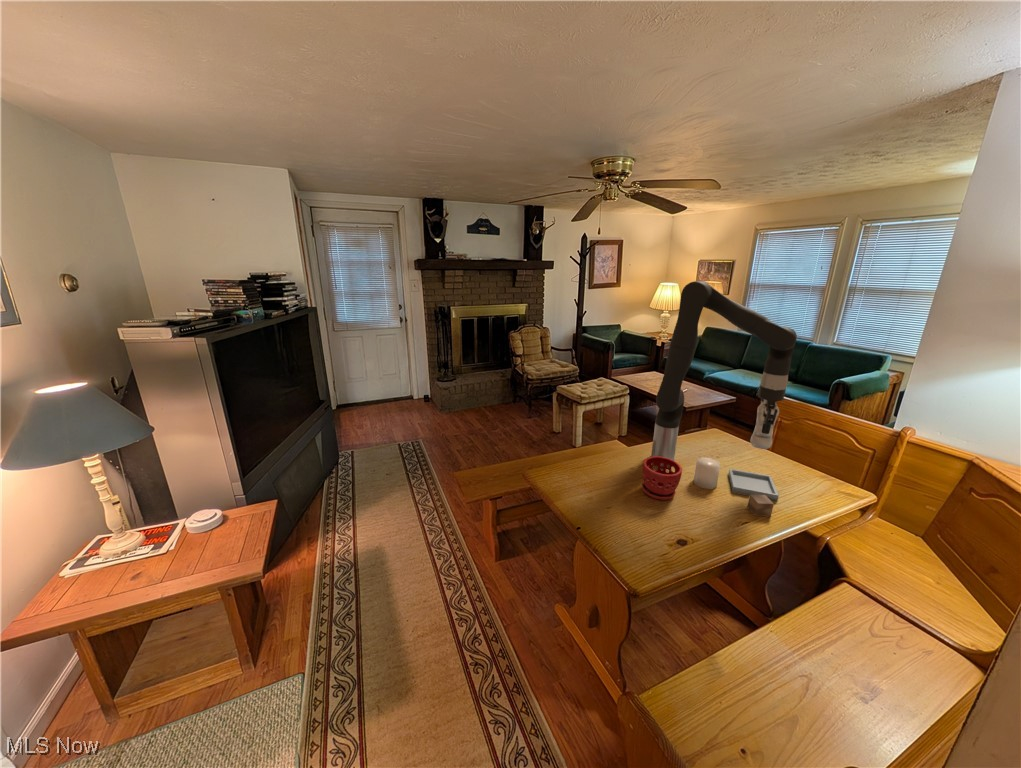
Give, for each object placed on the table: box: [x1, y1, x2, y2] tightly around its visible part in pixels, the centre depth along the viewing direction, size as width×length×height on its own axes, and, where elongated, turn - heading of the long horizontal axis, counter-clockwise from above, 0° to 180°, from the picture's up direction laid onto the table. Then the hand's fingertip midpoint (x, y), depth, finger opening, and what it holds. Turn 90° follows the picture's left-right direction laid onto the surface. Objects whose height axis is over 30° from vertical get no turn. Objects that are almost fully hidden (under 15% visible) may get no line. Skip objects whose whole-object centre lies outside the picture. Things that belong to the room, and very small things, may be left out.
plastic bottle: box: [750, 400, 780, 450], centre depth 133 cm, size 6×7×20 cm
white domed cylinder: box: [693, 456, 721, 490], centre depth 143 cm, size 8×8×9 cm
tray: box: [728, 468, 780, 502], centre depth 141 cm, size 14×14×2 cm
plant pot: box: [641, 456, 683, 501], centre depth 136 cm, size 13×13×12 cm
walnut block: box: [747, 494, 775, 517], centre depth 127 cm, size 5×5×5 cm
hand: (763, 429), depth 134 cm, fingers closed on plastic bottle, 6 cm apart
